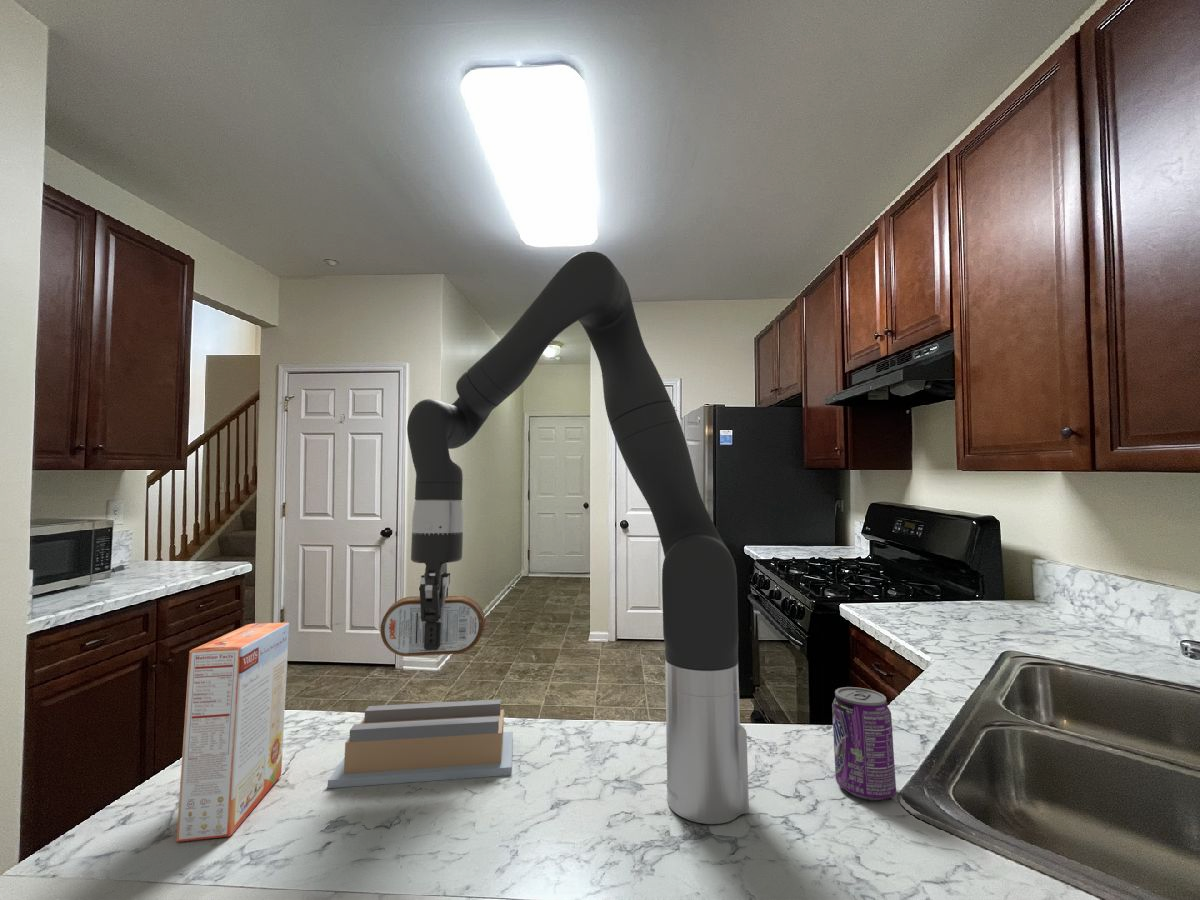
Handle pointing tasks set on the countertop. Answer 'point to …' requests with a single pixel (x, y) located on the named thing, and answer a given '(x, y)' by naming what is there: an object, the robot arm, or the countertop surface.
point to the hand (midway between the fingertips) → (433, 645)
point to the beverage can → (863, 743)
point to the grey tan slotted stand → (426, 744)
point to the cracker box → (232, 728)
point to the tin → (407, 629)
